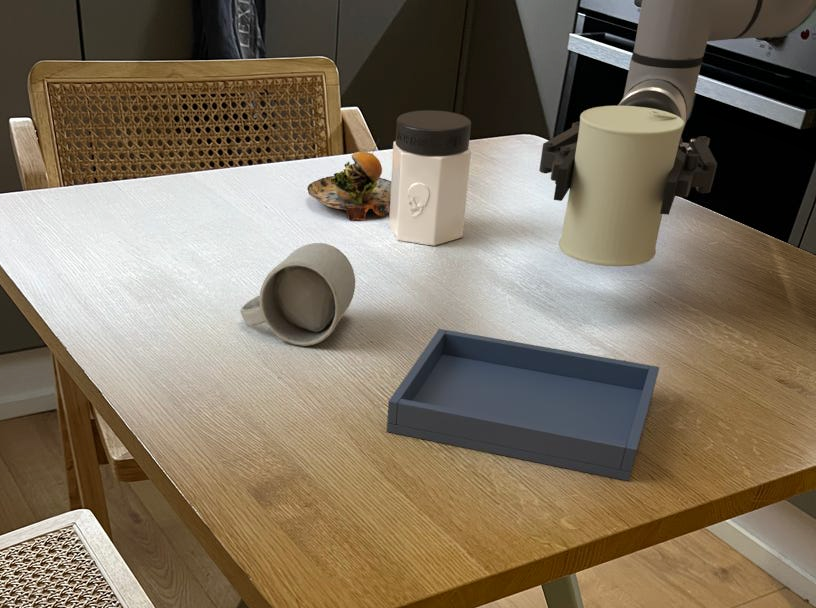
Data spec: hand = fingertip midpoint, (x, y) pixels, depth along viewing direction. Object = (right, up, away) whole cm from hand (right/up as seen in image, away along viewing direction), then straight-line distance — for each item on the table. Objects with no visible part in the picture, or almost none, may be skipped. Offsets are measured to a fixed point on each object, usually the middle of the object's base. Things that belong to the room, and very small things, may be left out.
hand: (613, 191), depth 86 cm
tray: (-9, -21, -5) cm, 23 cm away
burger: (-22, +14, +34) cm, 43 cm away
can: (+2, -2, +8) cm, 8 cm away
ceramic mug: (-29, -10, +7) cm, 31 cm away
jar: (-14, +8, +27) cm, 32 cm away
